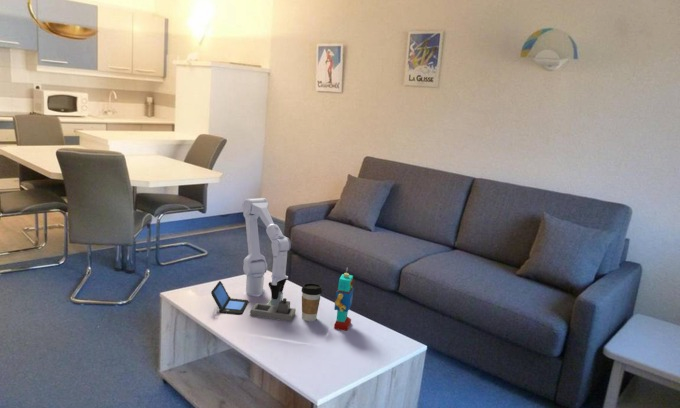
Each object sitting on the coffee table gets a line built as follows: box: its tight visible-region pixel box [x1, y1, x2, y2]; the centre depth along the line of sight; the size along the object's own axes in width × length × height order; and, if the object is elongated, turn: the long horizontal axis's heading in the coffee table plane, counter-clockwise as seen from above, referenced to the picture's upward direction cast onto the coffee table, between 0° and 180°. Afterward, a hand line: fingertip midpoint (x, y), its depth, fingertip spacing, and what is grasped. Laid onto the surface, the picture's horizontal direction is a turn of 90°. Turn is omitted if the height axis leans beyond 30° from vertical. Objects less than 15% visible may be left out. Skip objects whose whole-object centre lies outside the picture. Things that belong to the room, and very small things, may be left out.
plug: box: [270, 291, 284, 306], centre depth 225 cm, size 4×4×8 cm
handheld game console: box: [210, 280, 249, 316], centre depth 221 cm, size 16×13×9 cm
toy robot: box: [333, 267, 354, 332], centre depth 212 cm, size 12×6×25 cm, turn 168°
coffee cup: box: [301, 282, 323, 322], centre depth 216 cm, size 8×8×15 cm
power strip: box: [249, 302, 296, 322], centre depth 217 cm, size 8×17×3 cm, turn 82°
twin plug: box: [278, 297, 291, 314], centre depth 216 cm, size 4×4×8 cm
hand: (277, 295), depth 225 cm, fingers open, 7 cm apart
